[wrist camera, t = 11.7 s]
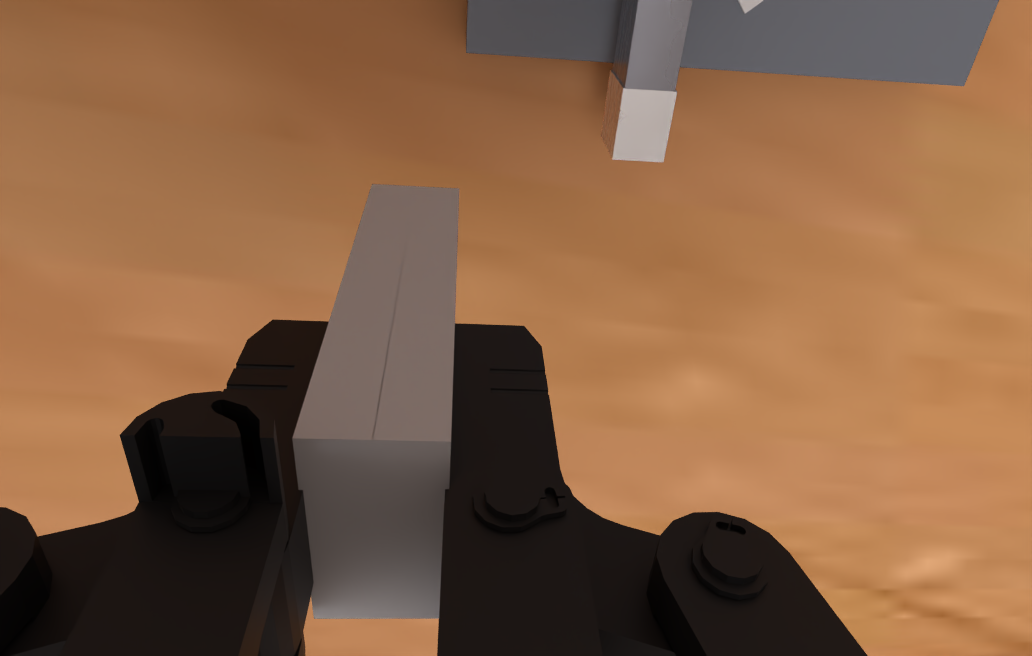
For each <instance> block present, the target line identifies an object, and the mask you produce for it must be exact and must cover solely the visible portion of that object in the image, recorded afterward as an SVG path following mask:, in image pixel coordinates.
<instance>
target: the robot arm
mask: <svg viewBox="0 0 1032 656" xmlns="http://www.w3.org/2000/svg"><path fill="white" fill-rule="evenodd" d="M458 211H459V189H458V188H439V187H419V186H400V185H380V184H372V186H371V189H370V192H369V195H368V199H367V202H366V205H365V208H364V211H363V215H362V218H361V221H360V224H359V227H358V231H357V234H356V237H355V240H354V243H353V246H352V250H351V253H350V256H349V259H348V262H347V266H346V269H345V272H344V275H343V278H342V282H341V285H340V288H339V291H338V294H337V298H336V301H335V304H334V307H333V310H332V313H331V317H330V320H329V322H325V321H296V320H272V321H271V322H269V323H268V324H267V325H265V326H264V327H263V328H262V329H260V330H259V331H258V332H257V333H255V334H254V335H253V336H252V337H250V338H249V339H248V340H247V342H246V344H245V346H244V349H243V351H242V353H241V355H240V357H239V359H238V361H237V363H236V369H235V368H234V370H233V372H232V374H231V376H230V378H229V380H228V382H227V389H224V391H223V392H222V391H215V392H203V393H192V394H188V395H184V396H181V397H178V398H175V399H171V400H168V401H165V402H162V403H160V404H158V405H156V406H155V407H153V408H151V409H150V410H148V411H146V412H144V413H143V414H141V415H139V416H137V417H136V418H135V419H134V420H133V422H132V423H131V424H130V425H129V426H128V427H127V428H126V429H125V430H124V431H123V432H122V433H121V434H120V438H121V441H122V445H123V448H124V451H125V455H126V458H127V462H128V465H129V469H130V472H131V476H132V479H133V483H134V486H135V490H136V493H137V496H138V500H139V503H138V505H137V507H136V509H135V511H133V512H131V513H129V514H127V515H125V516H121V517H118V518H115V519H111V520H108V521H105V522H101V523H97V524H92V525H88V526H84V527H79V528H75V529H70V530H66V531H61V532H57V533H52V534H48V535H43V536H39V537H37V535H36V533H35V531H34V529H33V527H32V526H31V524H30V522H29V521H28V519H27V517H26V516H23V515H21V514H19V513H17V512H14V511H12V510H10V509H8V508H5V507H0V656H305V642H304V634H303V629H304V624H305V620H306V615H307V611H308V606H309V602H310V597H311V598H312V606H313V614H314V619H380V618H439V630H438V653H437V656H867V654H866V653H865V652H864V650H863V649H862V648H861V646H860V645H859V644H858V643H857V641H856V640H855V639H854V637H853V636H852V635H851V633H850V632H849V631H848V629H847V628H846V627H845V625H844V624H843V623H842V621H841V620H840V619H839V618H838V616H837V615H836V614H835V612H834V611H833V610H832V608H831V607H830V606H829V604H828V603H827V602H826V600H825V599H824V598H823V596H822V595H821V594H820V592H819V591H818V590H817V589H816V587H815V586H814V585H813V583H812V582H811V581H810V579H809V578H808V577H807V575H806V574H805V573H804V571H803V570H802V569H801V567H800V566H799V565H798V564H797V562H796V561H795V560H794V558H793V557H792V556H791V554H790V553H789V552H788V551H787V550H786V549H785V548H784V547H783V546H782V545H781V544H780V543H779V542H778V541H777V540H776V539H775V538H774V537H773V536H772V535H771V534H770V533H768V532H767V531H765V530H763V529H761V528H759V527H758V526H756V525H754V524H752V523H751V522H749V521H747V520H745V519H742V518H739V517H735V516H731V515H727V514H724V513H720V512H697V513H691V514H689V515H686V516H684V517H681V518H679V519H676V520H674V521H672V523H671V524H670V525H669V526H668V527H667V528H666V529H665V531H664V532H663V533H662V534H661V535H656V534H652V533H649V532H645V531H642V530H638V529H634V528H631V527H627V526H623V525H620V524H618V523H615V522H612V521H610V520H607V519H604V518H602V517H601V516H599V515H597V514H596V513H594V512H592V511H591V510H589V509H587V508H586V507H585V506H584V505H583V504H582V503H580V502H579V501H578V500H577V499H576V498H575V497H574V496H573V494H572V492H571V490H570V488H569V487H568V486H567V485H566V484H565V483H564V480H563V477H562V474H561V470H560V465H559V458H558V452H557V445H556V438H555V432H554V425H553V419H552V412H551V406H550V399H549V395H548V386H547V379H546V375H545V366H544V360H543V353H542V347H541V345H540V344H539V343H538V342H537V341H536V339H535V338H534V337H533V336H532V335H531V334H530V332H529V331H528V330H527V329H526V328H525V326H511V325H482V324H455V303H456V272H457V242H458Z"/></svg>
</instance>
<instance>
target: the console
mask: <svg viewBox="0 0 1032 656" xmlns="http://www.w3.org/2000/svg"><path fill="white" fill-rule="evenodd" d="M998 1H999V0H693V1H692V6H691V11H690V16H689V21H688V26H687V32H686V37H685V42H684V47H683V52H682V57H681V63H680V67H685V68H700V69H715V70H730V71H745V72H760V73H775V74H790V75H804V76H819V77H834V78H849V79H864V80H879V81H894V82H909V83H924V84H939V85H954V86H964V85H965V82H966V80H967V77H968V75H969V73H970V70H971V68H972V65H973V63H974V60H975V58H976V55H977V53H978V50H979V48H980V46H981V43H982V41H983V38H984V36H985V33H986V31H987V28H988V26H989V23H990V21H991V19H992V16H993V14H994V11H995V9H996V6H997V4H998ZM621 5H622V0H468V6H467V33H466V53H476V54H491V55H506V56H521V57H536V58H551V59H566V60H580V61H595V62H610V63H613V61H614V54H615V47H616V40H617V33H618V26H619V19H620V12H621Z"/></svg>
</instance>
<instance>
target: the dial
mask: <svg viewBox="0 0 1032 656" xmlns="http://www.w3.org/2000/svg"><path fill="white" fill-rule="evenodd" d="M692 1H693V0H622V5H621V12H620V19H619V26H618V33H617V40H616V47H615V54H614V61H613V68H612V70H610V74H609V81H608V88H607V95H606V102H605V109H604V116H603V123H602V130H601V138H602V140H603V142H604V144H605V146H606V148H607V150H608V152H609V154H610V156H611V158H612V160H629V161H648V162H664V157H665V152H666V147H667V141H668V136H669V131H670V126H671V121H672V116H673V111H674V106H675V100H676V95H677V91H676V90H675V88H676V83H677V78H678V73H679V68H680V63H681V57H682V52H683V47H684V42H685V37H686V32H687V26H688V21H689V16H690V11H691V6H692Z"/></svg>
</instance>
